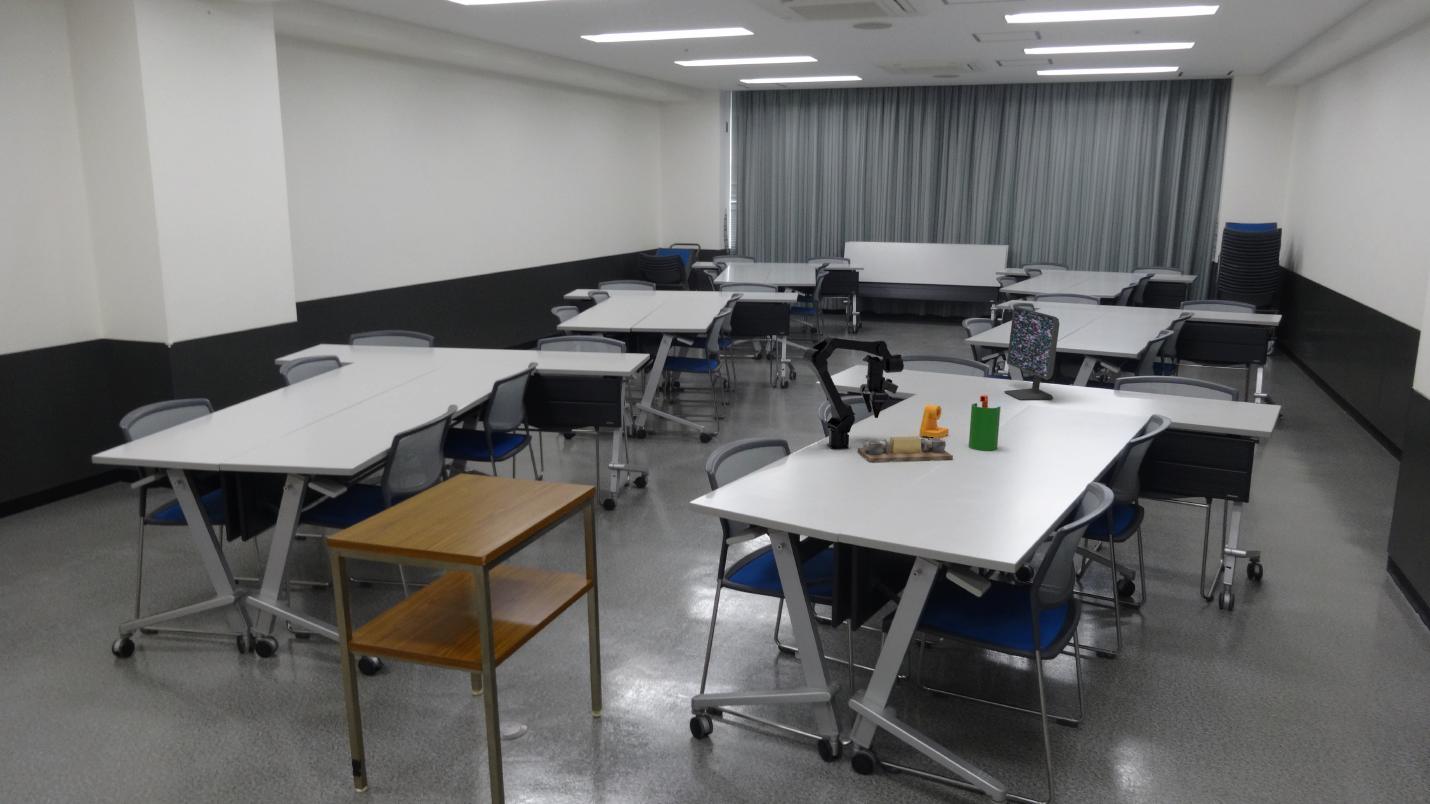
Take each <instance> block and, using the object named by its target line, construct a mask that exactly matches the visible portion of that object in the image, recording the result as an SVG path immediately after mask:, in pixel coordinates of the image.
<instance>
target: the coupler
mask: <svg viewBox="0 0 1430 804" xmlns="http://www.w3.org/2000/svg"><path fill="white" fill-rule="evenodd" d="M921 439H922V438H920V437H919V436H917V435H915V436H890V437H889V444H890V449H889V451H890V452H892V453H893V454H900V453H920V452H921Z"/></svg>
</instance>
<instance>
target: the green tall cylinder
mask: <svg viewBox="0 0 1430 804" xmlns="http://www.w3.org/2000/svg"><path fill="white" fill-rule="evenodd" d="M979 402H981V406H978V402H974V403H972V404H971V409H970V423H969V437H968V447H969V448H970V449H974V450H978V451H986V452H987V451H995V450H997V449H998V445H999V444H998V443H999V430H1000V429H999V428H1000V419H1001V417H1000V416H1001V406H996V407H989V397H988V395H987V394H981V395H980V396H979Z"/></svg>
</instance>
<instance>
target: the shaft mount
mask: <svg viewBox="0 0 1430 804" xmlns="http://www.w3.org/2000/svg"><path fill="white" fill-rule="evenodd" d="M920 439H921V452H920V453H900V454H893V453H892V452H890V451H889V449H890V439H887V438H886V439H885V438H884V439H883V440H882V441H880V440H878V439H866V440H865V441H864V443H863V444H864V445H863V446H864V447H858V448H857V453H858V454H859V455H860V454H861V457H863V459H865V458H866V459H867V460H866V461H868V462H869V463H870V462H872V463H890V462H889V461H903V462H926V461H928V462H930V460H934V461H953V460H954V455H953V454H951V453H949V452H948V451H947V450H945V449H946V446H947V442H946V440H945V439H942V438H941V439H940V438H931V437H925V438H923V437H921V438H920Z"/></svg>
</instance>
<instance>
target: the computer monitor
mask: <svg viewBox="0 0 1430 804" xmlns="http://www.w3.org/2000/svg"><path fill="white" fill-rule="evenodd" d="M1012 309H1013V310H1012V317H1011V326H1010V327H1011V328H1010V333H1009V334H1010V335H1009V343H1008V350H1007V351H1008V352H1007V359H1006V364H1007V365H1010V366H1011V367H1015V368H1017V369H1020V370H1022V371H1024V372H1025V373H1026V372H1027V373H1029V374H1031V375H1033V379H1032V385H1031V386H1032V387H1030V388H1021V389H1020V388H1019V389H1008V390H1004V391H1003V392H1004V393H1005V394H1007V395H1009V396H1010V397H1013V398H1015V399H1017V400H1019V401H1051V400H1053V399H1054V396H1053V395H1052V394H1051V393H1049V392H1046V391H1043V390H1042V389H1040V386H1041V385H1040V384H1041V379H1044V380H1046V381H1048V380H1051V378H1052V376H1053V375H1054V370H1055V360H1056V354H1057V346H1058V339H1059V338H1058V337H1059V333H1060V332H1059V329H1060V319H1059V318H1058V317H1057V316H1054V315H1050V314H1047V313H1042V312H1039V311H1034V310H1031V309H1027V308H1023V307H1019V306H1016V305H1014V306H1013V308H1012Z"/></svg>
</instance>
